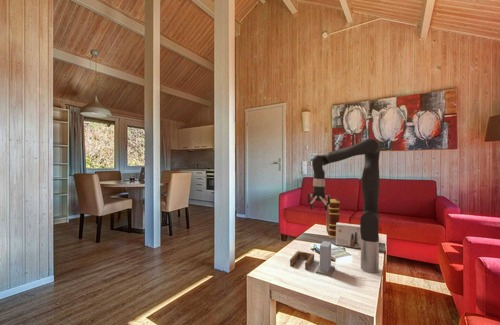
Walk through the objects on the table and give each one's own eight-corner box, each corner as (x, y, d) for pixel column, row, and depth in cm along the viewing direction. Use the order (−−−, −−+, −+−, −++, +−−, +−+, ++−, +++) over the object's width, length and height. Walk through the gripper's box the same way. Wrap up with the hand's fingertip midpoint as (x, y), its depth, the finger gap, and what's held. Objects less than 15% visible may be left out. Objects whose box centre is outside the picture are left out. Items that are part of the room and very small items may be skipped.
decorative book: (339, 238, 188) (340, 201, 188) (329, 237, 190) (329, 201, 190) (335, 230, 210) (335, 197, 210) (326, 229, 212) (326, 197, 212)
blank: (330, 266, 134) (331, 242, 134) (328, 272, 126) (328, 247, 126) (323, 264, 136) (323, 240, 136) (319, 270, 128) (319, 245, 128)
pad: (334, 267, 135) (334, 266, 135) (330, 276, 124) (330, 274, 124) (320, 264, 138) (320, 263, 138) (315, 272, 128) (315, 271, 128)
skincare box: (335, 245, 172) (336, 223, 172) (336, 242, 177) (336, 222, 177) (367, 249, 164) (367, 227, 164) (366, 247, 169) (366, 225, 169)
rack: (314, 260, 145) (314, 253, 145) (307, 270, 131) (307, 263, 131) (297, 256, 150) (297, 250, 150) (289, 266, 136) (290, 259, 136)
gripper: (331, 185, 152) (331, 210, 152) (309, 184, 159) (309, 208, 159) (329, 186, 145) (329, 212, 145) (306, 185, 152) (306, 210, 152)
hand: (318, 210), depth 152 cm, fingers open, 8 cm apart
